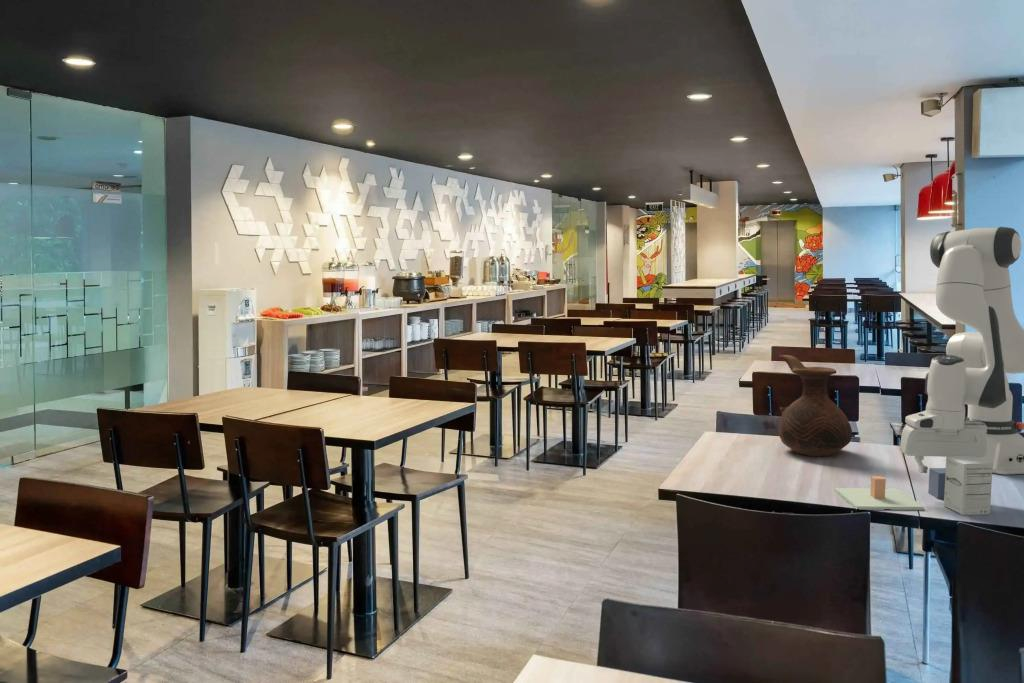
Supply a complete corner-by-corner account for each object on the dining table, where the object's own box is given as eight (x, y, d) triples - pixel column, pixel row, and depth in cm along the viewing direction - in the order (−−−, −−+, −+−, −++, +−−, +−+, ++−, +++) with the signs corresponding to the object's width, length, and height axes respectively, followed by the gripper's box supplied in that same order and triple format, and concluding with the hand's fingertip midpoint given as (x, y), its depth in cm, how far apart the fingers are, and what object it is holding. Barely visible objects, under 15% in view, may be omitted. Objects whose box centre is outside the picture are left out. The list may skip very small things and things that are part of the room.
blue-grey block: (948, 493, 211) (950, 468, 210) (958, 498, 206) (959, 473, 205) (928, 493, 211) (929, 468, 211) (937, 498, 206) (938, 473, 206)
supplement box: (942, 506, 200) (944, 456, 199) (971, 505, 201) (973, 455, 199) (961, 515, 193) (964, 463, 192) (991, 514, 193) (993, 462, 192)
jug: (835, 443, 268) (838, 353, 265) (862, 459, 246) (865, 361, 243) (769, 444, 268) (770, 353, 265) (789, 460, 247) (792, 362, 244)
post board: (896, 491, 213) (897, 469, 213) (924, 510, 197) (925, 486, 197) (834, 490, 214) (835, 469, 214) (856, 509, 198) (857, 486, 198)
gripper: (981, 418, 209) (977, 471, 210) (899, 416, 211) (896, 469, 212) (993, 423, 203) (990, 477, 204) (909, 421, 204) (906, 475, 205)
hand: (941, 473), depth 208 cm, fingers open, 8 cm apart
